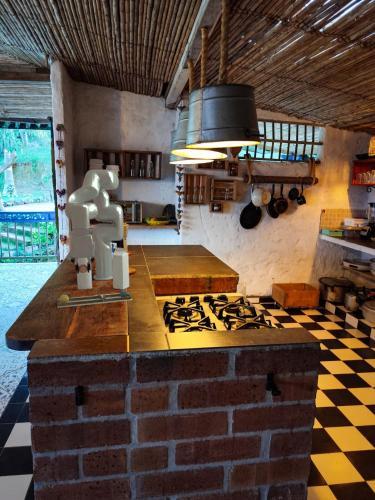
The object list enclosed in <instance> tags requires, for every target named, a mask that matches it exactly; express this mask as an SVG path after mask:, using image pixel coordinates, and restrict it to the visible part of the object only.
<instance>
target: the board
mask: <svg viewBox="0 0 375 500" xmlns="http://www.w3.org/2000/svg"><path fill="white" fill-rule="evenodd" d="M119 293H120V292H119ZM119 293H118V292H117V293H116V294H119ZM110 294H111V293H109V294H108V293H106V294H103V293H102V294H101V295H102V298H103V295H110ZM99 295H100V294H95V295H94V296H99ZM89 296H90V295H88V296H87V295H85V296H84V297H89ZM78 297H79V296H77V297H73V298H78ZM119 297H120V296H119ZM127 297H128V296H127ZM109 298H118V297H109ZM98 299H100V298H98ZM98 299H88V300H98ZM106 299H108V298H106ZM78 301H87V300H78ZM126 301H133V298H132V297H131V299H128V300H118V301H108V302H105V301H104V298H103V302H98V303H88V304H78V305H68V306H58V307H57V308H66V307H67V308H68V307H77V306H87V305H96V304H108V303H117V302H126ZM68 302H77V301H68ZM59 303H61V302H59ZM57 308H56V309H57Z"/></svg>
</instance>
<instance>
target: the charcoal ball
mask: <svg viewBox="0 0 375 500" xmlns="http://www.w3.org/2000/svg"><path fill="white" fill-rule="evenodd" d="M128 293H129V291H128V290H127V289H126V288H125V289H120V291H119V295H120V297H127V296H128Z"/></svg>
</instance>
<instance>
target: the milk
mask: <svg viewBox="0 0 375 500" xmlns="http://www.w3.org/2000/svg"><path fill="white" fill-rule="evenodd" d="M129 263H130V262H129V253H128V252H127V251H126V248H124V247H123V248H122V247H115V249H114V251H113V252H112V271H113V279H112V285H113V289H118V290H123V289H125V290H126V289H127V288H129V287H130V270H129Z"/></svg>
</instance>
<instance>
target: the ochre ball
mask: <svg viewBox="0 0 375 500" xmlns="http://www.w3.org/2000/svg"><path fill="white" fill-rule="evenodd" d="M69 298H70V297H69V296H68V295H67V294H62V295H60V296H59V299H60V302H61V303H67V302H68V301H69Z"/></svg>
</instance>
